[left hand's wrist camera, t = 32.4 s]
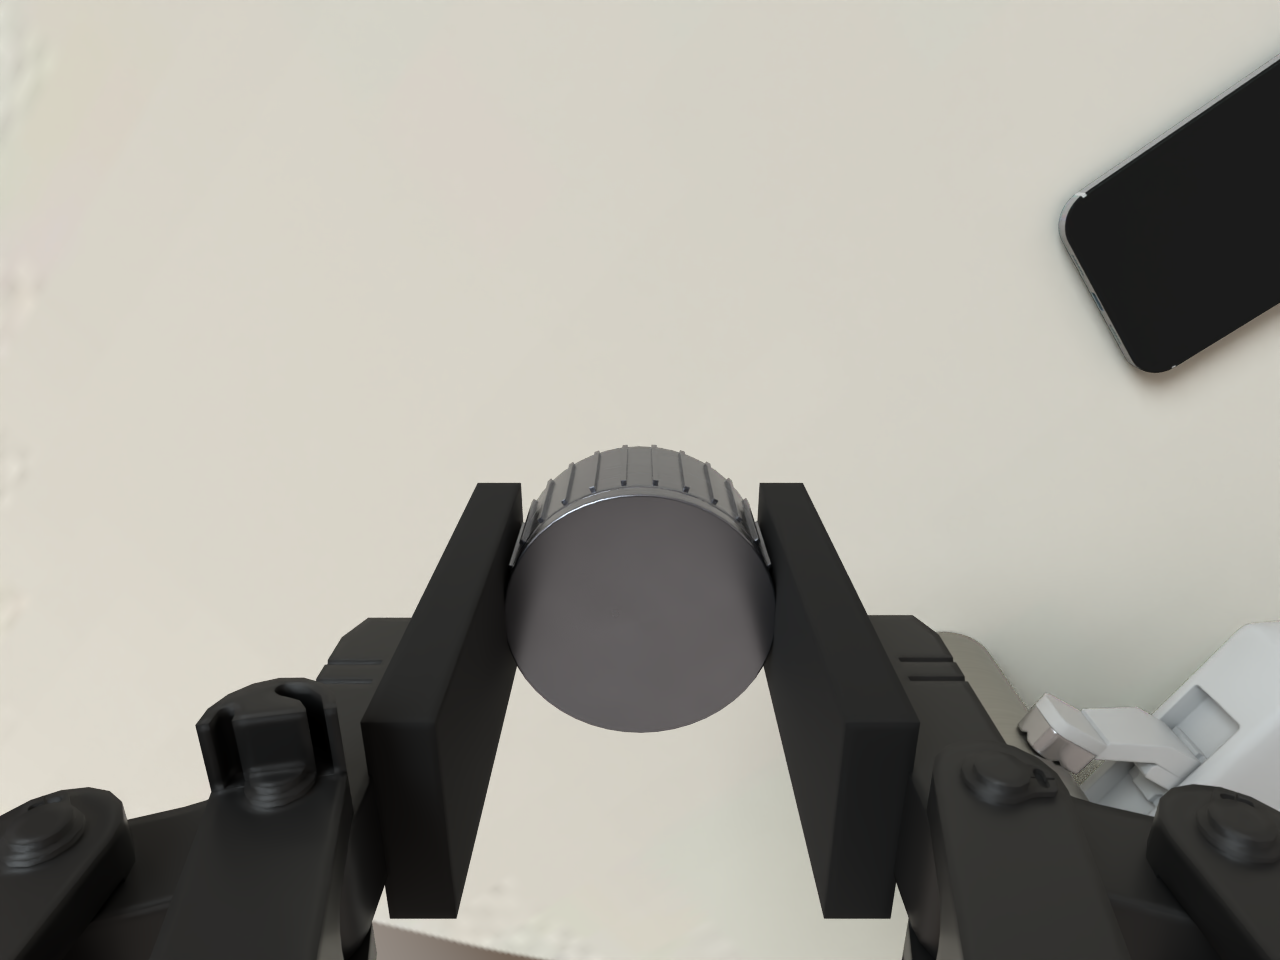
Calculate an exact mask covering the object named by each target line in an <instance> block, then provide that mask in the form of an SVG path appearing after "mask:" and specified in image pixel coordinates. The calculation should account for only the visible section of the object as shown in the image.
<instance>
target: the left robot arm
mask: <svg viewBox="0 0 1280 960" xmlns="http://www.w3.org/2000/svg"><path fill="white" fill-rule="evenodd" d="M522 522H523V512H522V495H521V483H478V484H477V486H476V488H475V490H474V492H473V494H472V496H471V498H470V500H469V502H468V504H467V506H466V508H465V510H464V512H463V514H462V516H461V518H460V520H459V522H458V524H457V526H456V528H455V530H454V532H453V535H452V537H451V539H450V541H449V543H448V545H447V547H446V549H445V551H444V553H443V555H442V557H441V559H440V561H439V563H438V565H437V567H436V569H435V571H434V573H433V575H432V577H431V579H430V581H429V583H428V585H427V587H426V589H425V591H424V594H423V596H422V598H421V600H420V602H419V604H418V606H417V608H416V610H415V612H414V614H413V616H412V618H367V619H366V620H365V621H363V622H362V623H361V624H359V625H358V626H357V627H355V628H354V629H353V630H351V631H350V632H348V633H347V634H346V635H344V636H343V637H342V638H341V640H340V641H339V643H338V644H337V646H336V648H335V649H334V651H333V653H332V654H331V656H330V657H329V659H328V664H327V665H325V666H324V667H323V669H322V670H321V672H320V674H319V675H318V677H317V679H316V681H314V680H310V679H306V678H277V679H273V680H268V681H263V682H259V683H254V684H251V685H249V686H247V687H244V688H242V689H240V690H237V691H235V692H233V693H230V694H228V695H227V696H225V697H224V698H222V699H221V700H220V701H218V702H217V703H215V704H214V705H213V706H211V707H210V708H208V709H207V711H206V712H205V713H204V715H203V716H202V717H201V719H200V720H199V721H198V723H197V724H196V725H195V726H196V730H197V734H198V738H199V742H200V746H201V750H202V755H203V759H204V763H205V767H206V771H207V775H208V779H209V783H210V788H211V794H210V797H209V799H208V800H206V801H203V802H199V803H196V804H193V805H189V806H186V807H182V808H178V809H173V810H169V811H164V812H160V813H155V814H151V815H147V816H142V817H138V818H133V819H129V820H127V818H126V814H125V811H124V807H123V804H122V802H121V801H120V800H119V799H118V798H117V797H116V796H115V795H114V794H112V793H111V792H110V791H106V790H101V789H96V788H90V787H86V788H77V789H68V790H60V791H57V792H54V793H51V794H48V795H45V796H41V797H39V798H36V799H32V800H30V801H28V802H26V803H24V804H22V805H20V806H18V807H16V808H15V809H13V810H11V811H9V812H7V813H5V814H3V815H1V816H0V960H376V956H377V951H376V945H375V938H374V932H373V926H372V920H373V917H374V914H375V911H376V908H377V906H378V903H379V900H380V897H381V894H382V891H383V888H384V885H385V889H386V895H387V902H388V908H389V915H390V919H456V918H457V914H458V910H459V906H460V901H461V897H462V893H463V889H464V885H465V881H466V876H467V872H468V868H469V864H470V860H471V856H472V851H473V847H474V843H475V839H476V835H477V831H478V826H479V822H480V818H481V814H482V810H483V806H484V801H485V797H486V793H487V789H488V785H489V780H490V776H491V772H492V768H493V764H494V760H495V755H496V751H497V747H498V743H499V739H500V735H501V730H502V726H503V722H504V718H505V714H506V710H507V705H508V701H509V697H510V693H511V689H512V684H513V680H514V676H515V672H516V668H517V665H516V663H515V660H514V658H513V656H512V654H511V652H510V649H509V646H508V643H507V633H506V619H505V604H504V596H505V589H506V586H507V583H508V580H509V576H510V573H511V570H509V569H508V566H509V562H510V559H511V556H512V553H513V550H514V547H515V544H516V541H517V537H518V534H519V531H520V528H521V525H522ZM758 524H759V527H760V530H761V533H762V536H763V539H764V542H765V545H766V549H767V552H768V555H769V558H770V561H771V564H772V567H773V568H771V569H769V571H770V575H771V578H772V581H773V584H774V587H775V593H776V612H775V627H774V640H773V644H772V648H771V651H770V653H769V655H768V657H767V659H766V662H765V664H764V665H763V666H764V670H765V674H766V678H767V682H768V687H769V691H770V695H771V699H772V703H773V707H774V712H775V716H776V720H777V724H778V728H779V732H780V737H781V741H782V745H783V749H784V753H785V757H786V762H787V766H788V770H789V774H790V778H791V782H792V787H793V791H794V795H795V799H796V803H797V808H798V812H799V816H800V820H801V824H802V828H803V833H804V837H805V841H806V845H807V849H808V853H809V858H810V862H811V866H812V870H813V874H814V878H815V883H816V887H817V891H818V895H819V899H820V903H821V908H822V912H823V916H824V919H890V918H891V912H892V905H893V899H894V892H895V886H896V883H897V886H898V889H899V891H900V894H901V897H902V900H903V903H904V906H905V908H906V911H907V914H908V917H909V919H908V926H907V932H906V938H905V944H904V950H903V956H902V960H1280V811H1278V810H1276V809H1274V808H1272V807H1270V806H1268V805H1266V804H1264V803H1262V802H1260V801H1258V800H1257V799H1255V798H1253V797H1251V796H1247V795H1244V794H1241V793H1239V792H1235V791H1232V790H1229V789H1225V788H1222V787H1217V786H1208V785H1198V784H1190V785H1184V786H1179V787H1174V788H1171V789H1170V790H1169V791H1168V792H1167V793H1165V794H1164V795H1163V796H1162V797H1161V798H1160V799H1159V803H1158V806H1157V810H1156V813H1155V816H1154V817H1153V816H1149V815H1144V814H1140V813H1136V812H1131V811H1127V810H1122V809H1118V808H1113V807H1109V806H1104V805H1100V804H1096V803H1093V802H1089V801H1086V800H1082V799H1079V798H1076V797H1073V796H1071V795H1070V793H1069V791H1068V789H1067V787H1066V786H1065V784H1064V783H1063V781H1062V780H1061V778H1060V777H1059V775H1058V774H1057V773H1056V772H1055V771H1054V770H1053V769H1051V768H1050V767H1049V766H1048V765H1046V764H1045V763H1044V762H1043V761H1042V760H1040V759H1039V758H1038V757H1036V756H1034V755H1031V754H1029V753H1027V752H1025V751H1023V750H1021V749H1019V748H1017V747H1015V746H1012V745H1008V744H1006V742H1005V740H1004V739H1003V737H1002V735H1001V734H1000V732H999V731H998V729H997V727H996V726H995V724H994V723H993V721H992V719H991V718H990V716H989V715H988V713H987V711H986V710H985V708H984V706H983V705H982V703H981V702H980V700H979V698H978V697H977V695H976V694H975V692H974V690H973V689H972V687H971V685H970V684H969V682H968V681H965V676H964V674H963V673H962V671H961V669H960V668H959V666H958V665H957V663H956V662H953V656H952V655H951V653H950V652H949V650H948V648H947V647H946V645H945V644H944V642H943V640H942V639H941V637H940V635H939V634H937V633H936V632H935V631H933V630H932V629H930V628H929V627H928V626H926V625H925V624H924V623H922V622H921V621H920V620H918V619H917V618H916V617H914V616H913V615H867V613H866V611H865V609H864V607H863V605H862V603H861V601H860V598H859V596H858V594H857V592H856V590H855V588H854V586H853V584H852V582H851V580H850V578H849V576H848V574H847V572H846V570H845V568H844V566H843V564H842V562H841V560H840V558H839V556H838V554H837V552H836V550H835V548H834V546H833V544H832V542H831V539H830V537H829V535H828V533H827V531H826V529H825V527H824V525H823V523H822V521H821V519H820V517H819V515H818V513H817V511H816V509H815V507H814V505H813V503H812V501H811V499H810V497H809V495H808V493H807V491H806V489H805V487H804V485H803V483H760V487H759V504H758Z"/></svg>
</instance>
